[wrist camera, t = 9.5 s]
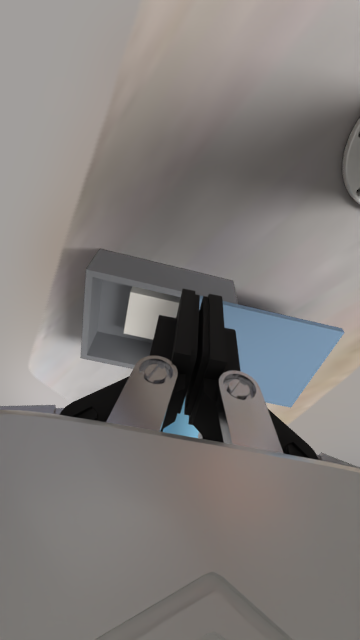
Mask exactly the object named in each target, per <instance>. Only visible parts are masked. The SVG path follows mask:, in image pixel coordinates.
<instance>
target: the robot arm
mask: <svg viewBox="0 0 360 640" xmlns="http://www.w3.org/2000/svg"><path fill="white" fill-rule="evenodd" d="M359 132H360V118H359V119H358V121H357V123H356V124H355V126H354V128H353V130H352V132H351V134H350V136H349V139H348V142H347V144H346V147H345V152H344V157H343V178H344V183H345V186H346V188H347V190H348V193H349V194H350V195H351V197H352V198H353V199H354V200H355V201H356V202H357V203H358V204H360V136H358V134H359ZM358 189H359V191H358V192H356V191H357V190H358ZM199 302H200V295H196V294H195V291H194V290H188V289H182V293H181V298H180V302H179V307H178V312H177V316H176V318H173V317H168V316H163V315H159V317H158V321H157V326H156V330H155V334H154V339H153V343H152V347H151V351H150V356H147V357H143V358H142V359H140V360H139V361H138V362H137V363H136V365H135V367H134V369H133V371H132V372H131V374H130V376H129V377H127V378H125V379H122V380H120V381H118V382H116V383H114V384H112V385H109V386H107V387H105V388H103V389H101V390H98V391H96V392H94V393H92V394H90V395H88V396H85V397H83V398H81V399H79V400H77V401H74V402H72V403H71V404H69V405H68V406H66V407H65V408H56V407H55V405H34V406H33V405H32V406H0V640H360V467H357V466H354V465H352V464H349V463H347V462H344V461H342V460H339V459H336V458H334V457H331V456H329V455H326V454H324V453H320V454H319V455H317V454H316V453H315V452H314V450H313V449H312V448H311V447H310V446H309V445H308V444H307V443H306V442H305V441H304V440H302V439H301V438H300V437H299V436H298V435H297V434H296V433H295V432H293V431H292V430H291V429H290V428H289V427H288V426H287V425H286V424H284V423H283V422H282V421H281V420H280V419H279V418H278V417H277V416H275V415H274V414H273V413H272V412H271V411H270V410H269V409H267V406H266V403H265V400H264V397H263V395H262V392H261V389H260V387H259V385H258V383H257V382H256V381H255V380H254V379H253V378H252V377H251V376H249V375H248V374H246V373H243V372H241V371H240V362H239V354H238V346H237V338H236V331H235V330H234V329H229V328H225V327H224V313H223V300H222V296H219V295H214V294H209V295H208V297H206V296H203V299H202V302H201V306H200V310H199ZM184 399H185V408H184V415H189V423H188V424H189V425H193V426H194V427H195V428H196V429H197V430H198V431H199V434H198V438H194V437H188V436H182V435H177V434H171V433H165V432H163V430H164V428H165V427H167V426H169V425H170V424H172V423H173V422H175V420H176V417H177V413H178V414H180V413H181V409H182V406H183V403H184Z"/></svg>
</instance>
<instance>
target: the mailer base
mask: <svg viewBox="0 0 360 640" xmlns="http://www.w3.org/2000/svg"><path fill="white" fill-rule="evenodd" d="M182 289H188V290H194V291H195V294H196V295H200V296H206V297H208V295H209V294H214V295H219V296H222V300H223V301H226V302H230V303H234V304H238V301H237V297H236V292H235V287H234V282H233V281H232V280H228V279H224V278H219V277H215V276H211V275H207V274H203V273H199V272H194V271H190V270H186V269H182V268H178V267H174V266H169V265H165V264H161V263H157V262H153V261H149V260H144V259H140V258H136V257H132V256H128V255H124V254H120V253H115V252H111V251H107V250H103V249H100V250H99V251H98V253H97V254H96V255H95V257H94V258H93V260H92V261H91V263H90V264H89V266H88V267H87V269H86V278H85V294H84V310H83V326H82V343H81V358H82V359H87V360H92V361H97V362H102V363H107V364H112V365H117V366H122V367H127V368H132V369H134V367H135V365H136V363H137V362H138V361H139V360H140V359H142V358H143V357H147V356H150V351H151V347H152V343H153V339H154V334H155V330H156V326H157V321H158V317H159V315H163V316H168V317H173V318H176V316H177V312H178V307H179V302H180V298H181V293H182Z"/></svg>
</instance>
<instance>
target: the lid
mask: <svg viewBox="0 0 360 640" xmlns="http://www.w3.org/2000/svg"><path fill="white" fill-rule="evenodd" d="M202 299H203V296H200V302H199V310H200V306H201V302H202ZM223 313H224V327H225V328H229V329H234V330H235V331H236V338H237V346H238V354H239V362H240V371H241V372H243V373H246V374H248V375H249V376H251V377H252V378H253V379H254V380H255V381H256V382H257V383H258V385H259V387H260V389H261V392H262V395H263V397H264V400H265V402H267V403H272V404H277V405H282V406H286V407H292V405H293V404H294V402H295V401H296V400H297V398H298V397H299V395H300V394H301V393H302V391H303V390H304V388H305V387H306V386H307V384H308V383H309V381H310V380H311V379H312V377H313V376H314V374H315V373H316V372H317V370H318V369H319V367H320V366H321V365H322V363H323V362H324V360H325V359H326V358H327V356H328V355H329V353H330V352H331V351H332V349H333V348H334V346H335V345H336V344H337V342H338V341H339V339H340V338H341V337H342V335H343V334H344V331H343V330H342V328H338V327H333V326H329V325H325V324H320V323H316V322H312V321H307V320H303V319H299V318H295V317H290V316H286V315H282V314H277V313H273V312H269V311H264V310H260V309H256V308H252V307H247V306H243V305H239V304H234V303H230V302H226V301H223Z"/></svg>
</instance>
